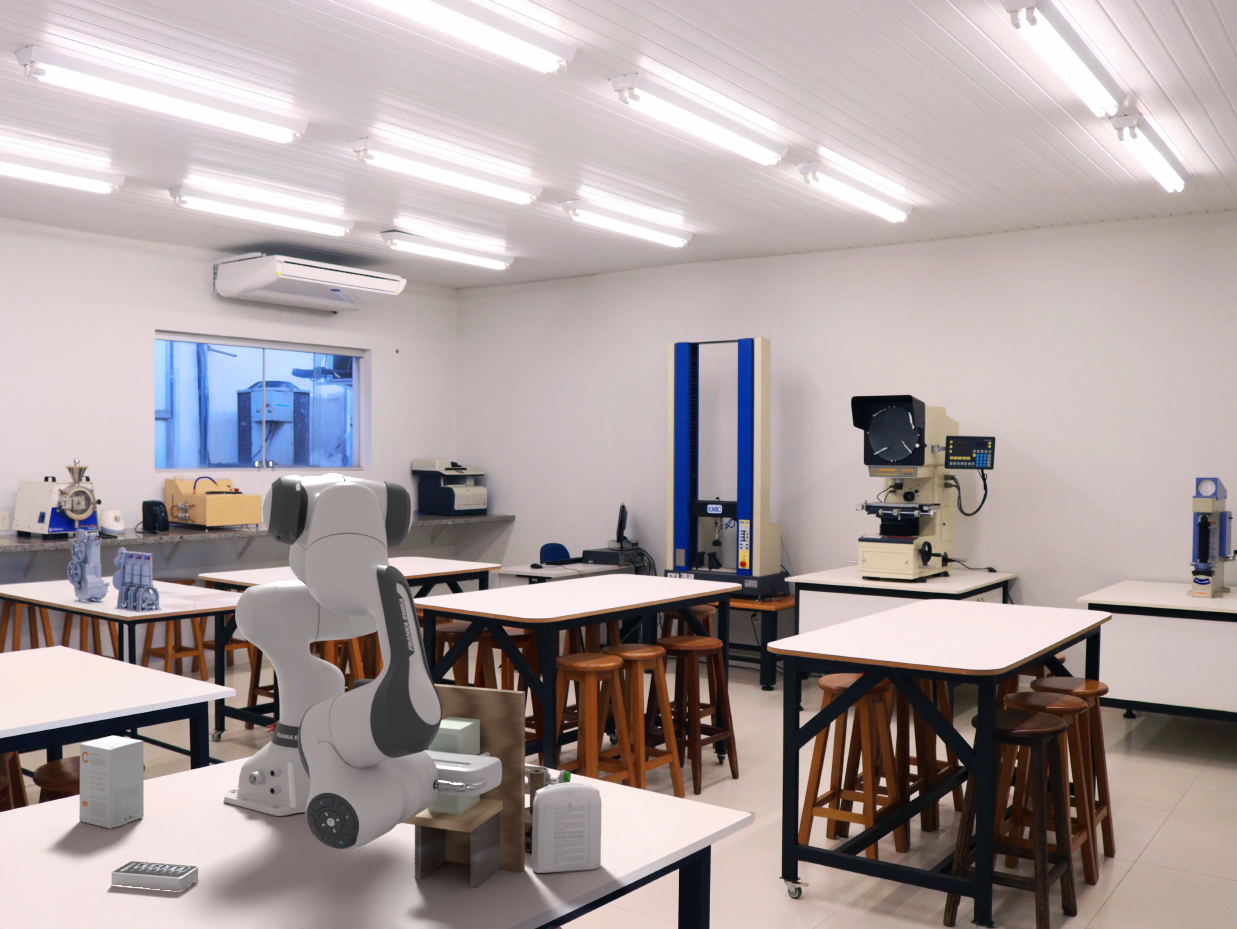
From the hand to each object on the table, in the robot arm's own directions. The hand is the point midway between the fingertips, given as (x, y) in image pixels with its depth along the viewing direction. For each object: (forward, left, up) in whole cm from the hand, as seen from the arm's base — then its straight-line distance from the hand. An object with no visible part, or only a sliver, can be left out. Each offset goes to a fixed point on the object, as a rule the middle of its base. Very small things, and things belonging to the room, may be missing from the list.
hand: (456, 754), depth 143 cm
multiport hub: (-39, -17, -18) cm, 46 cm away
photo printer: (+14, +8, -18) cm, 24 cm away
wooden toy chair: (0, 0, -17) cm, 17 cm away
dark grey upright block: (-46, +49, -18) cm, 70 cm away
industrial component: (+7, +13, -18) cm, 23 cm away
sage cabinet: (0, 0, -7) cm, 8 cm away
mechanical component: (+4, +20, -18) cm, 27 cm away
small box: (-65, 0, -18) cm, 67 cm away
